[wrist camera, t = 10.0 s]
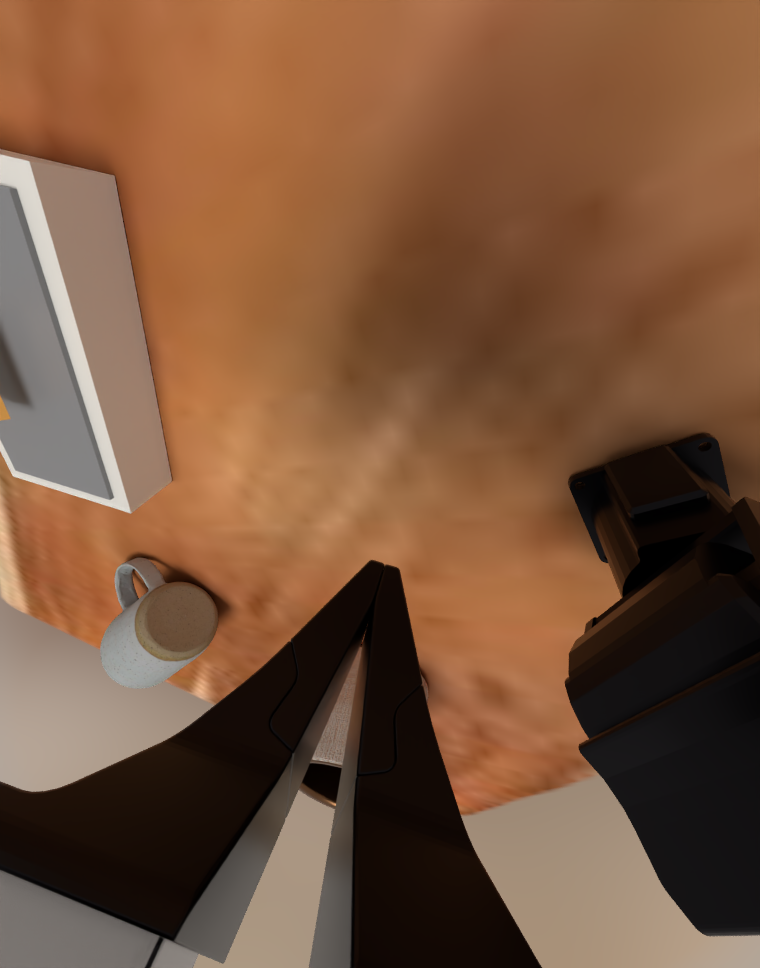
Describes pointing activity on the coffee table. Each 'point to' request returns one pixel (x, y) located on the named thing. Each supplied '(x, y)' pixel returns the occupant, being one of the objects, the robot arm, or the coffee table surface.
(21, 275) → the breaker housing
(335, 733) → the planter
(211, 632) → the ceramic mug
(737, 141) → the coffee table surface
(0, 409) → the lever
